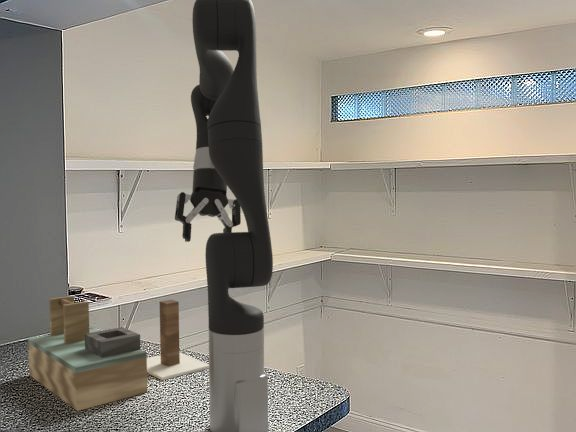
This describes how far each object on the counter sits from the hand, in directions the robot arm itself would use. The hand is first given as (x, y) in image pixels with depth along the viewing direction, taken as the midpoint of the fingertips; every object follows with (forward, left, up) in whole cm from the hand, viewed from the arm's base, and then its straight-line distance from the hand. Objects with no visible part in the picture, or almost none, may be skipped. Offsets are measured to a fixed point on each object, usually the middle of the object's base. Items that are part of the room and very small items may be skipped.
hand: (206, 243), depth 130 cm
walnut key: (+7, +6, -27) cm, 29 cm away
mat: (+7, +6, -28) cm, 29 cm away
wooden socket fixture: (+9, +24, -28) cm, 38 cm away
